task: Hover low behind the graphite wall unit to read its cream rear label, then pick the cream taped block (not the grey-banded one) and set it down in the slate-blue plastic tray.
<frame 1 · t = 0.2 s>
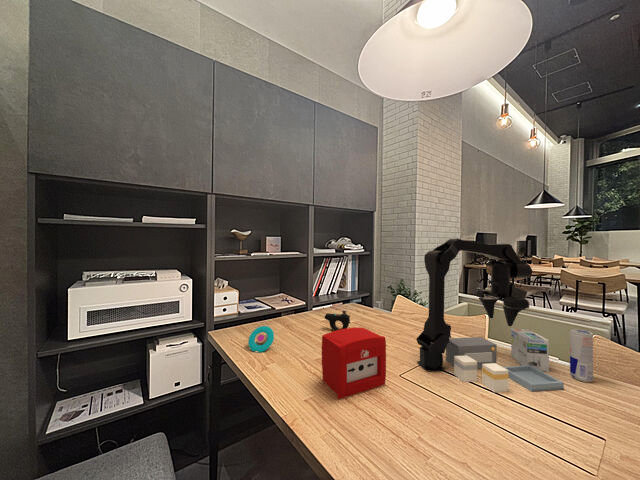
hand: (500, 321, 92), 14 cm above the table, fingers open, 9 cm apart
cream taped block: (494, 387, 76), on the table
fire alarm: (353, 384, 77), on the table
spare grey: (465, 377, 81), on the table
light bulb box: (528, 364, 91), on the table
ornament: (261, 349, 102), on the table
tray: (530, 380, 79), on the table
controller: (337, 331, 122), on the table
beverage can: (581, 379, 81), on the table
wall unit: (470, 364, 90), on the table
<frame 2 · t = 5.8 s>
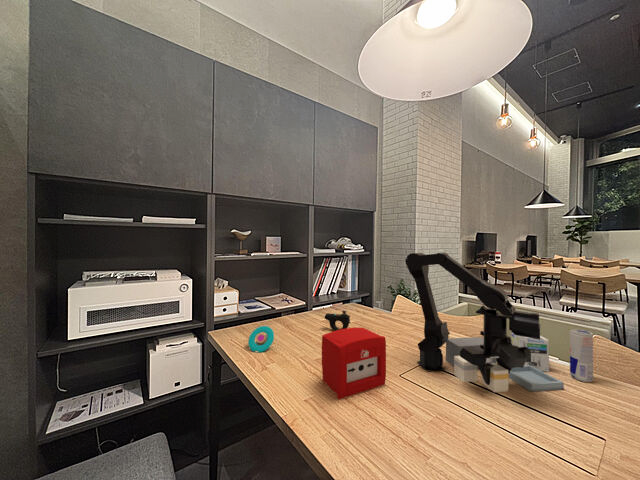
hand: (494, 383, 76), 1 cm above the table, fingers closed on cream taped block, 4 cm apart
cream taped block: (494, 387, 76), on the table, touching gripper
everything else where it was.
when the fingers open (3 cm above the table, at t = 10.1 s): cream taped block drops 2 cm, resting on tray.
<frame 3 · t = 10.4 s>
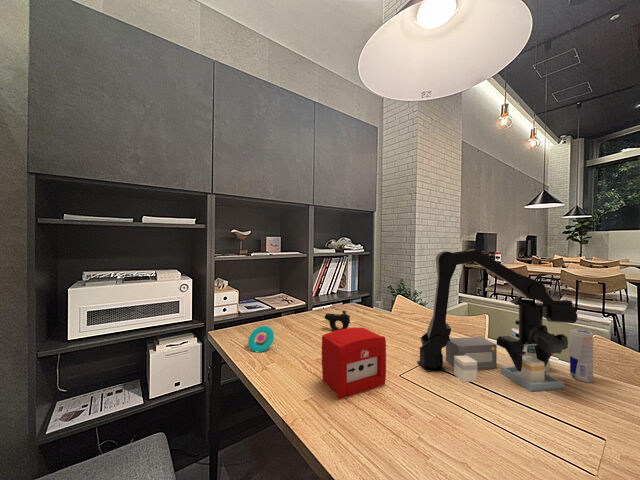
hand: (530, 370, 79), 3 cm above the table, fingers open, 8 cm apart
cream taped block: (530, 378, 79), point 1 cm above the table, touching tray
everything else where it was.
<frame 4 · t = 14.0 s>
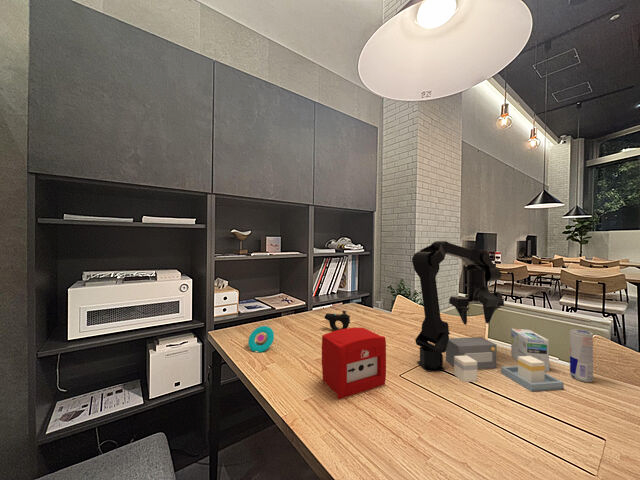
hand: (476, 323, 97), 12 cm above the table, fingers open, 9 cm apart
nothing on the table moved.
at the end: cream taped block inside the target area on the tray (0.1 cm from its centre), point 0.6 cm above the tray's base; cream taped block tilted 0°; the gripper is holding nothing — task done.
